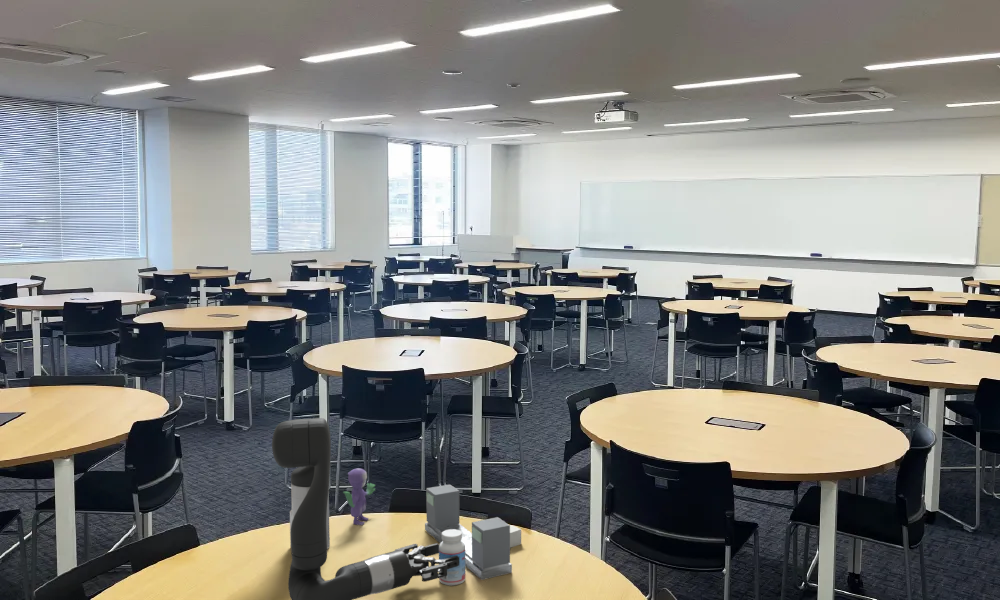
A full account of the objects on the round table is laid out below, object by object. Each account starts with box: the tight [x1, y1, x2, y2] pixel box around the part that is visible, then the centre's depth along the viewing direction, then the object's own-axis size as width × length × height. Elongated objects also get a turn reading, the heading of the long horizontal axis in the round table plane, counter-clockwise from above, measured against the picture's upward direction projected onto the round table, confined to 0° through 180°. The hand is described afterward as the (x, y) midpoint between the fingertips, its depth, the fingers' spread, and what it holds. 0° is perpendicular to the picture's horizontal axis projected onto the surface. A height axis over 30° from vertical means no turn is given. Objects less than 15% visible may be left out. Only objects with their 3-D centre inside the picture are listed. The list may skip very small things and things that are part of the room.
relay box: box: [509, 524, 522, 549], centre depth 190 cm, size 6×4×4 cm, turn 131°
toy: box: [342, 467, 376, 526], centre depth 206 cm, size 18×6×15 cm, turn 168°
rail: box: [424, 522, 513, 580], centre depth 187 cm, size 8×34×2 cm, turn 28°
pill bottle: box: [438, 529, 467, 586], centre depth 170 cm, size 6×6×11 cm
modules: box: [425, 484, 511, 569], centre depth 187 cm, size 7×34×9 cm, turn 28°
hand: (448, 553), depth 169 cm, fingers open, 8 cm apart
